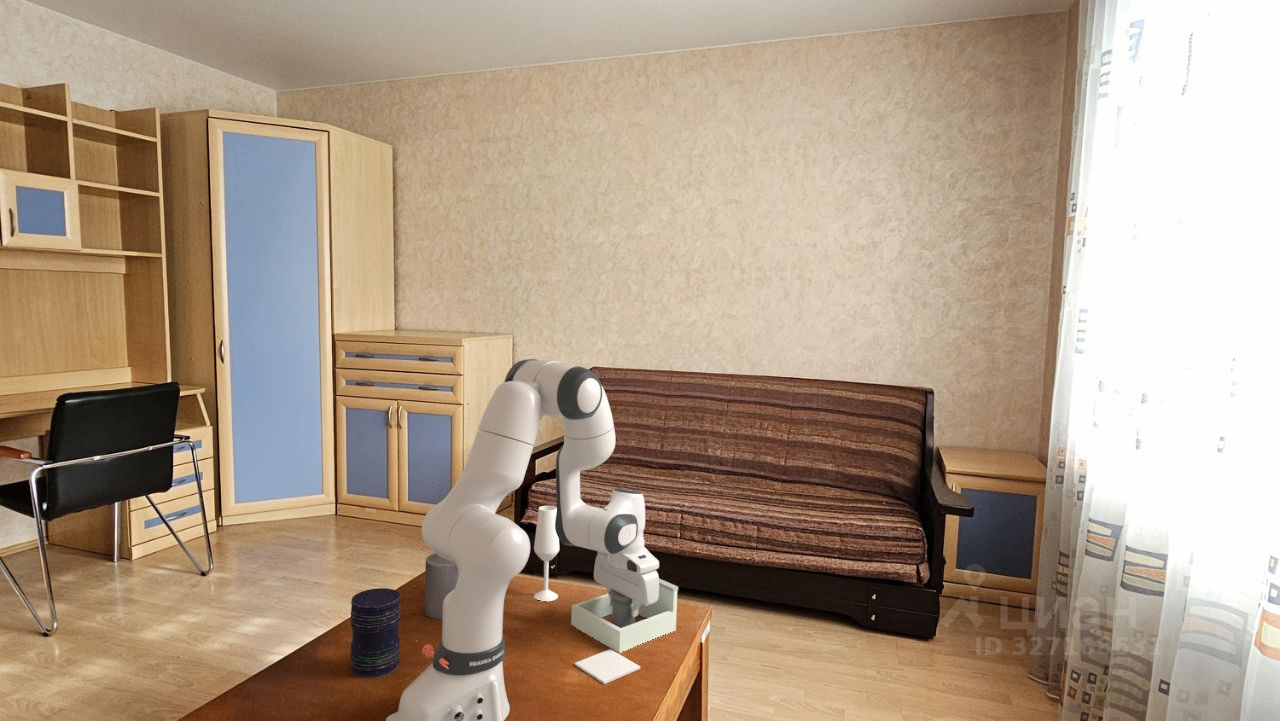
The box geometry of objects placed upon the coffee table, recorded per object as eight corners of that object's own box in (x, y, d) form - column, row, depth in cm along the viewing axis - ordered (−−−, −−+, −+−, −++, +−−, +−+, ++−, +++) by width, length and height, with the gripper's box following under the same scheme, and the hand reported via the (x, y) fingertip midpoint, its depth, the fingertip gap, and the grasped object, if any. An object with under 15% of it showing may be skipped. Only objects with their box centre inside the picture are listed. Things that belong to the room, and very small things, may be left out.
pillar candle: (422, 606, 179) (422, 548, 178) (460, 600, 183) (461, 544, 182) (427, 622, 171) (428, 562, 169) (468, 616, 175) (469, 557, 173)
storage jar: (410, 663, 151) (410, 595, 150) (371, 683, 142) (372, 611, 141) (378, 650, 156) (379, 584, 155) (339, 669, 147) (340, 599, 146)
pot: (622, 636, 166) (623, 599, 166) (604, 626, 171) (605, 590, 170) (642, 628, 171) (643, 592, 170) (624, 619, 175) (625, 584, 175)
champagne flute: (563, 596, 188) (565, 508, 187) (544, 603, 183) (547, 513, 181) (546, 589, 193) (548, 503, 191) (527, 596, 187) (529, 508, 186)
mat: (604, 684, 145) (604, 681, 145) (574, 665, 152) (574, 662, 152) (640, 668, 151) (640, 666, 151) (610, 651, 159) (610, 649, 159)
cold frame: (619, 653, 158) (620, 606, 157) (571, 625, 171) (572, 581, 171) (676, 630, 170) (678, 586, 170) (627, 605, 184) (628, 565, 183)
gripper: (588, 545, 175) (587, 600, 176) (644, 569, 160) (642, 628, 161) (608, 540, 179) (606, 593, 180) (664, 563, 164) (662, 621, 165)
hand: (623, 610), depth 170 cm, fingers closed on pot, 6 cm apart
